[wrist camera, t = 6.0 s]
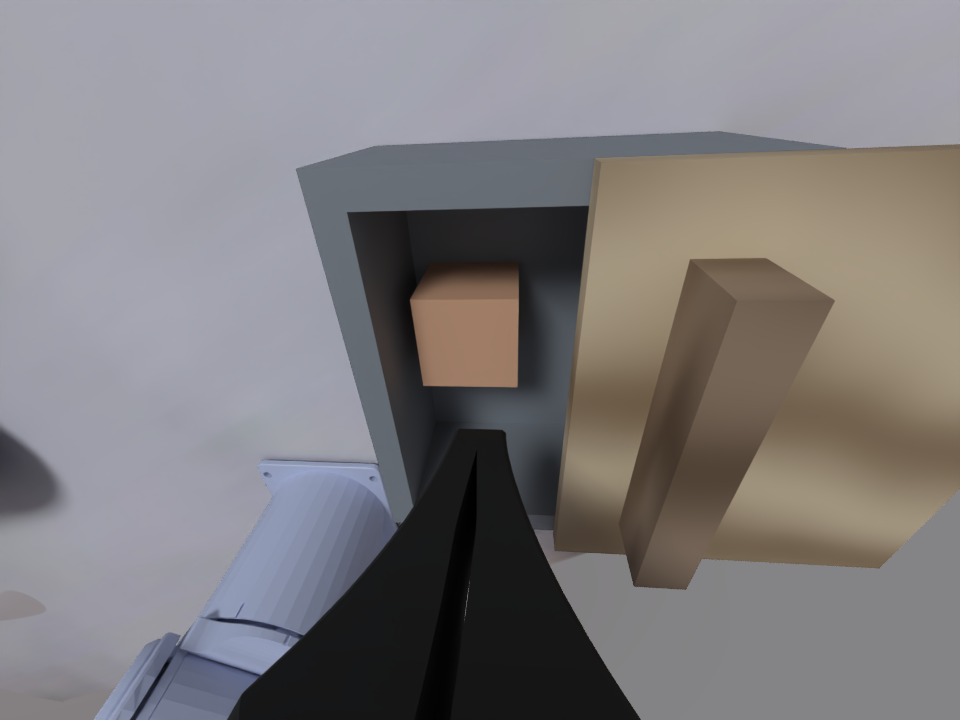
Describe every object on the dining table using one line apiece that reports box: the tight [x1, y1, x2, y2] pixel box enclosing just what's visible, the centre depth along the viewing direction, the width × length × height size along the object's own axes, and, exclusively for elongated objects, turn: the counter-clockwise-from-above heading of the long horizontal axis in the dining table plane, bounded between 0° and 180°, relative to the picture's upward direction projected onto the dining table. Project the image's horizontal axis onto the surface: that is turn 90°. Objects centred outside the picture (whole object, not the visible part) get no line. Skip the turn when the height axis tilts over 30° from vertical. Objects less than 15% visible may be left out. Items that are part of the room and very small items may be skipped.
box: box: [296, 131, 846, 530], centre depth 15 cm, size 14×12×6 cm
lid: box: [553, 144, 960, 590], centre depth 10 cm, size 14×12×3 cm
